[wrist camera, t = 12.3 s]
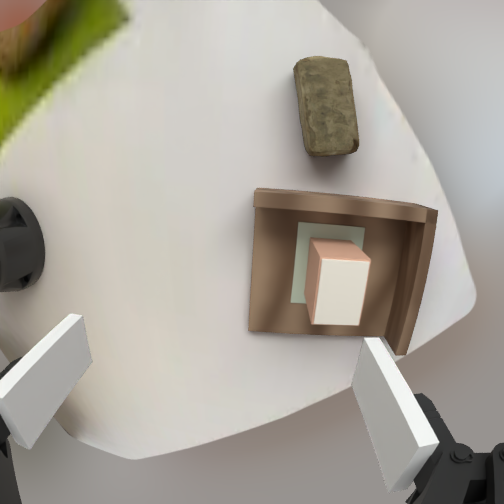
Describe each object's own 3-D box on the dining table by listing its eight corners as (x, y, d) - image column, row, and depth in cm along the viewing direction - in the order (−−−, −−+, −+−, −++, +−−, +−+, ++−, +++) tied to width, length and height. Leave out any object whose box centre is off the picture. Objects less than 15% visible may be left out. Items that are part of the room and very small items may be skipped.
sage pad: (290, 302, 39) (290, 302, 38) (298, 221, 36) (298, 222, 36) (352, 305, 38) (352, 305, 38) (364, 227, 36) (365, 227, 35)
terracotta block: (310, 237, 36) (320, 257, 28) (351, 240, 36) (371, 260, 28) (304, 293, 38) (311, 325, 30) (343, 295, 38) (359, 326, 30)
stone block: (304, 159, 35) (309, 157, 30) (290, 67, 32) (293, 53, 28) (352, 155, 35) (364, 153, 30) (337, 64, 32) (347, 51, 27)
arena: (248, 327, 41) (245, 351, 35) (257, 187, 36) (254, 191, 30) (391, 332, 40) (405, 355, 34) (415, 203, 35) (438, 210, 30)
